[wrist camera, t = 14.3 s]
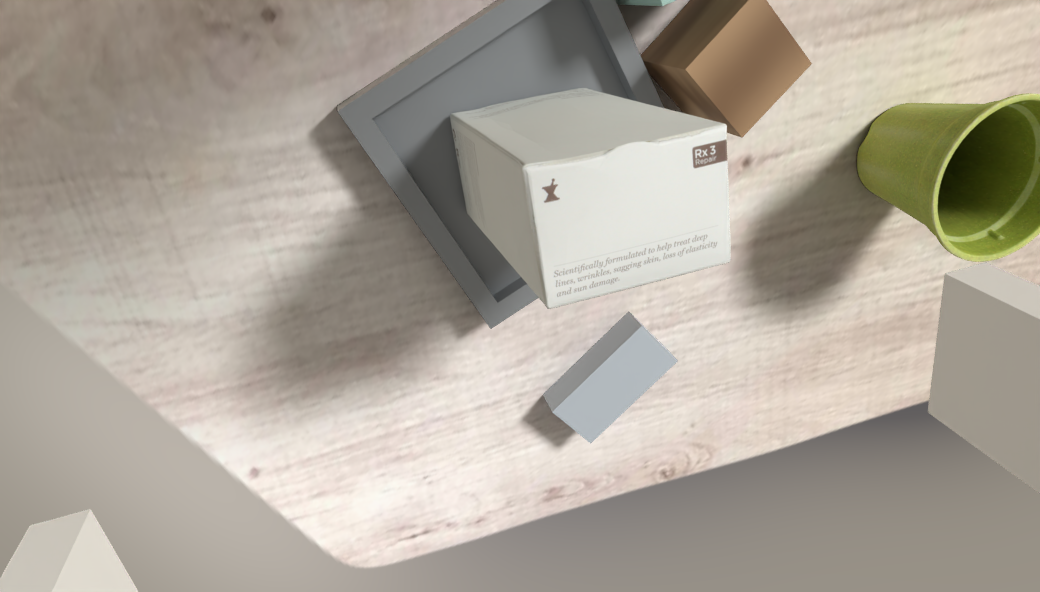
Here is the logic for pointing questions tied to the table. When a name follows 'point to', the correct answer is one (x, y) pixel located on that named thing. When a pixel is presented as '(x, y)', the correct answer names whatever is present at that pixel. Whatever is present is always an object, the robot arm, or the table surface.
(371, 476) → the table surface
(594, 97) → the skincare box
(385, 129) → the tray
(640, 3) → the teal block
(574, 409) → the flat blue-grey brick
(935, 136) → the plant pot
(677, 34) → the walnut block
